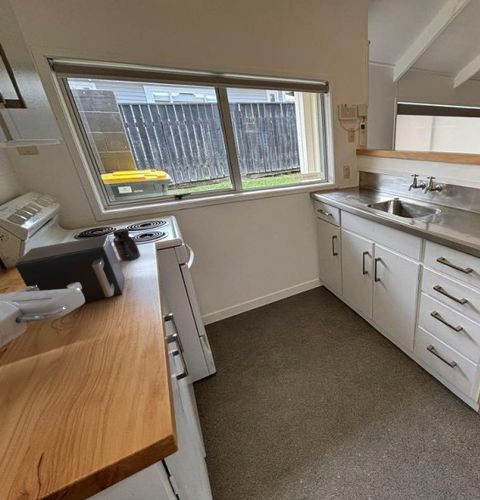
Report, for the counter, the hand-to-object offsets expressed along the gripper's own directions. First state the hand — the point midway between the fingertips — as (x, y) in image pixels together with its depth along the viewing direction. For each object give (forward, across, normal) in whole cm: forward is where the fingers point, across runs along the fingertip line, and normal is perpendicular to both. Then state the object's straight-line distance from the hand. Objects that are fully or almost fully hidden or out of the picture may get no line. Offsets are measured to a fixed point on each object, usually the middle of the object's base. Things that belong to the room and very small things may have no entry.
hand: (56, 286), depth 66 cm
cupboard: (+20, +13, +13) cm, 27 cm away
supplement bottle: (+49, +18, +13) cm, 54 cm away
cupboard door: (+11, +8, +13) cm, 19 cm away
